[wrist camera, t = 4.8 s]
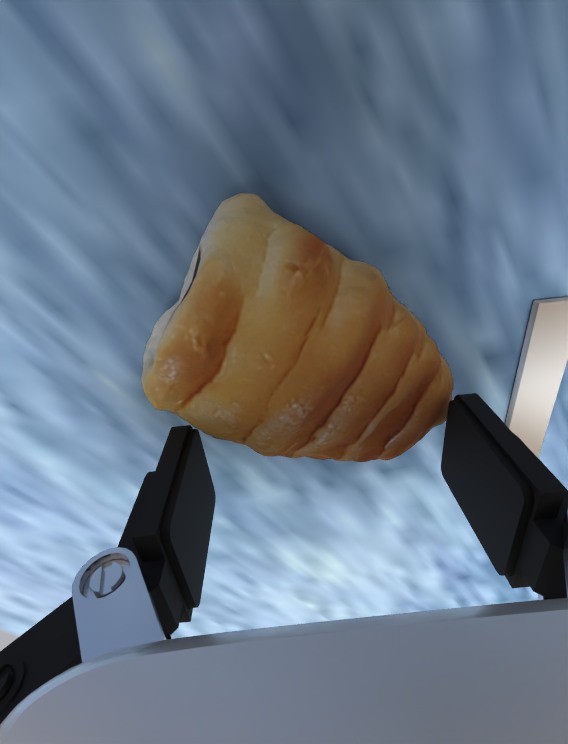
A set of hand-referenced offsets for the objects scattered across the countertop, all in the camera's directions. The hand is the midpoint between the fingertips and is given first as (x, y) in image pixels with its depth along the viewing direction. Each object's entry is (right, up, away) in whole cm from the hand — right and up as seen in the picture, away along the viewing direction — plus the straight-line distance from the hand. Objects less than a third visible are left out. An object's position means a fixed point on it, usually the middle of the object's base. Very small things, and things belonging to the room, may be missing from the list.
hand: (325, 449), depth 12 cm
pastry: (0, +1, +3) cm, 4 cm away
